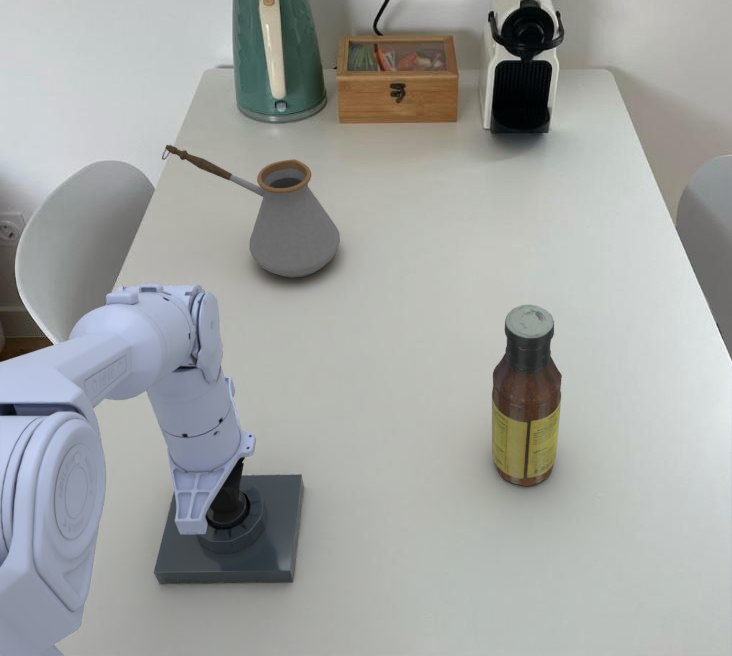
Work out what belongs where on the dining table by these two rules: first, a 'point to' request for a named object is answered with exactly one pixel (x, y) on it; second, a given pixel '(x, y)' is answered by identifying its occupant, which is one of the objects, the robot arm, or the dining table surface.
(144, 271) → the dining table surface
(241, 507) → the dark grey push button
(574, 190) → the dining table surface
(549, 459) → the sauce bottle
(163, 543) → the grey button housing
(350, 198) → the dining table surface
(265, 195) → the coffee pot
